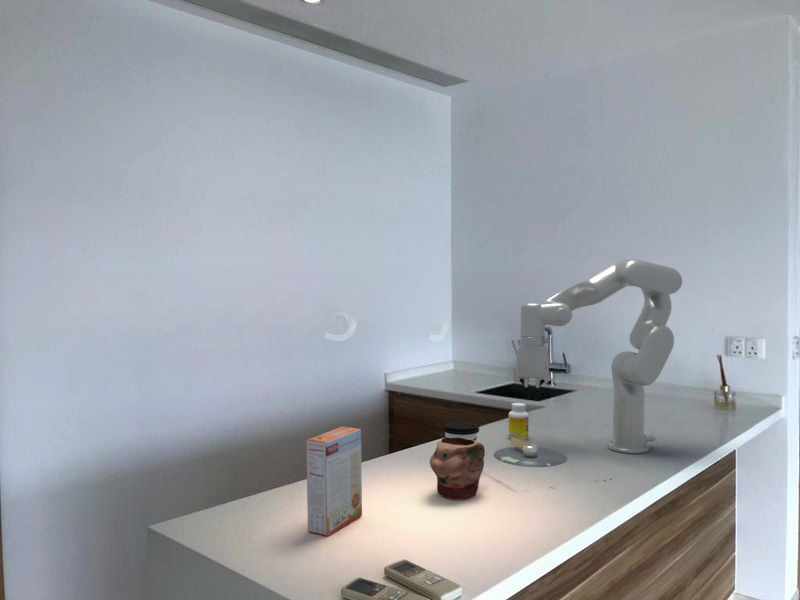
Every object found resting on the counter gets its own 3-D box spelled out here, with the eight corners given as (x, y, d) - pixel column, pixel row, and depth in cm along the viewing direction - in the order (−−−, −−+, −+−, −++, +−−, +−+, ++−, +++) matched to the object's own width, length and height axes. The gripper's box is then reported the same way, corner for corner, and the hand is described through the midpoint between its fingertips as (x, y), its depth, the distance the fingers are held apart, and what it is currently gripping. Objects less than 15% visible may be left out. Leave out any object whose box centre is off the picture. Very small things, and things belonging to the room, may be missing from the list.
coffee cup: (482, 461, 197) (482, 422, 197) (474, 472, 187) (475, 430, 186) (447, 458, 201) (447, 419, 200) (438, 468, 191) (438, 427, 190)
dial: (540, 447, 213) (540, 443, 213) (582, 466, 193) (582, 461, 193) (480, 454, 205) (480, 449, 205) (517, 474, 185) (517, 469, 185)
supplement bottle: (528, 444, 217) (528, 406, 216) (507, 443, 218) (508, 405, 217) (528, 439, 223) (528, 402, 223) (508, 438, 224) (509, 401, 224)
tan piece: (540, 456, 198) (540, 444, 197) (527, 457, 196) (527, 446, 196) (517, 445, 210) (517, 434, 210) (505, 446, 208) (505, 435, 208)
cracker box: (341, 511, 156) (341, 425, 155) (363, 516, 153) (363, 428, 152) (305, 532, 144) (304, 438, 143) (327, 537, 141) (327, 441, 140)
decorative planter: (461, 478, 181) (462, 429, 180) (500, 487, 173) (500, 436, 173) (418, 497, 166) (418, 443, 165) (458, 508, 158) (458, 452, 157)
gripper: (558, 341, 207) (557, 398, 208) (508, 339, 211) (508, 396, 212) (557, 343, 200) (557, 403, 201) (506, 342, 204) (506, 400, 205)
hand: (531, 399), depth 207 cm, fingers closed
